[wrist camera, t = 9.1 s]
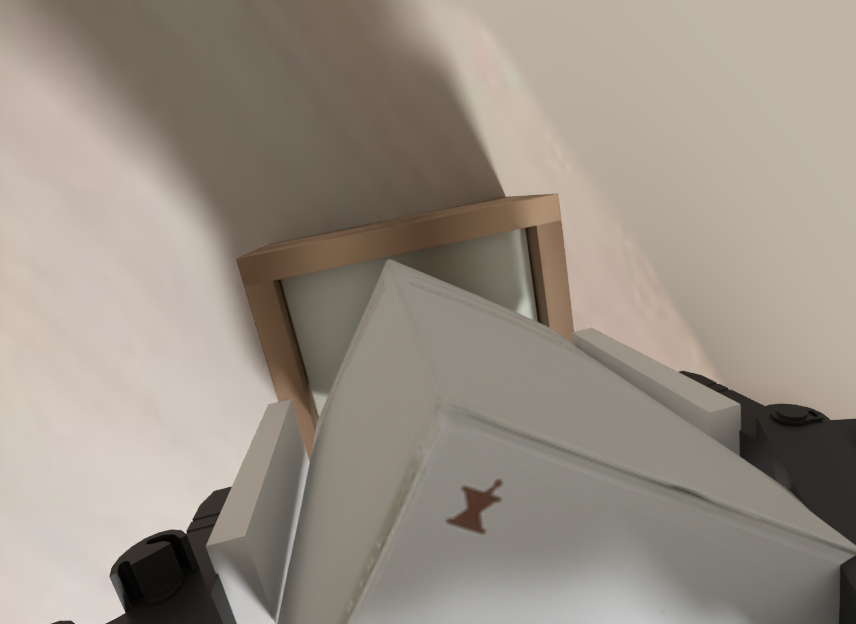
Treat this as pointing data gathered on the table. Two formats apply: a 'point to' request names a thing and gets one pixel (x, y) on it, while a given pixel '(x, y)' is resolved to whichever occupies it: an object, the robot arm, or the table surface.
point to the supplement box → (531, 488)
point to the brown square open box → (411, 246)
